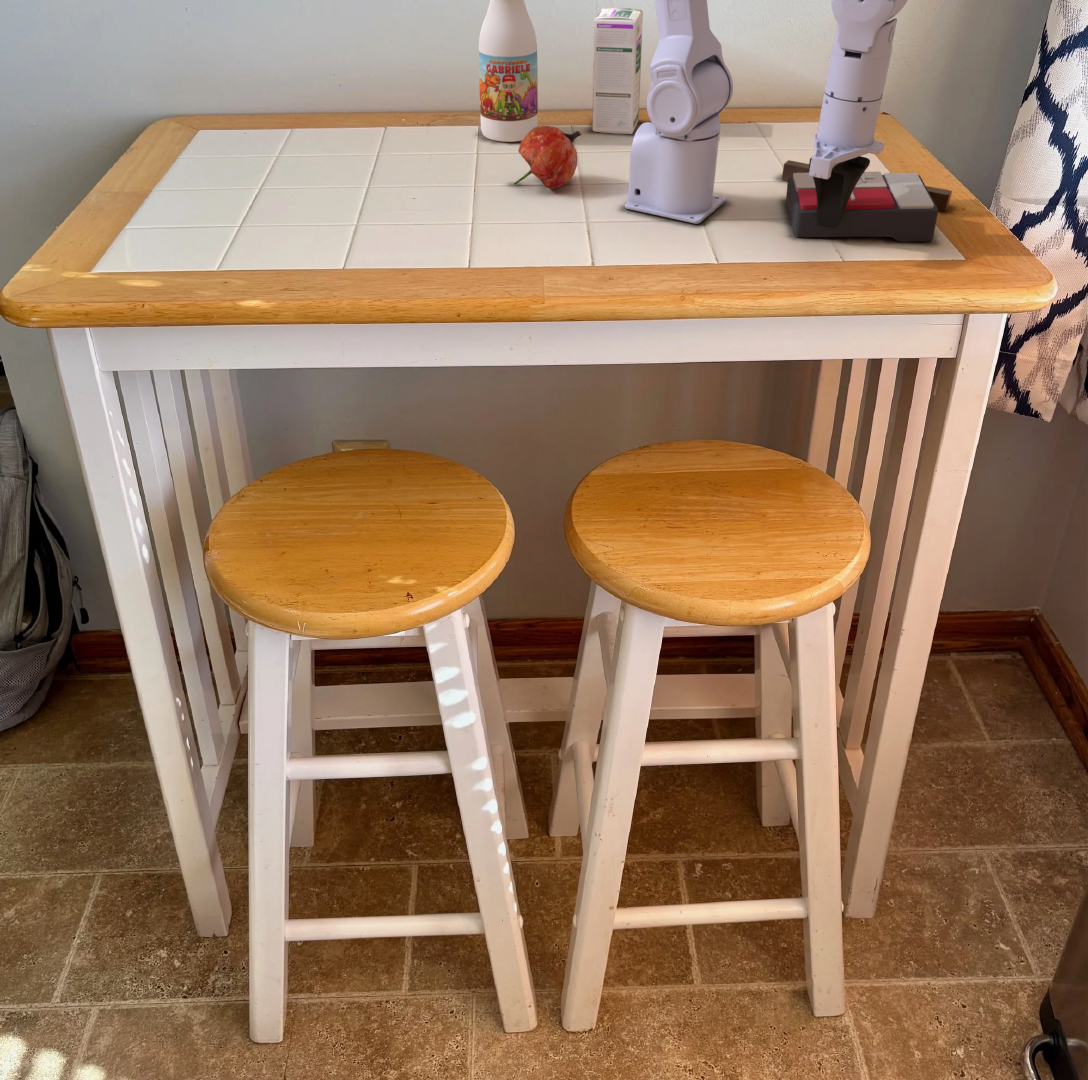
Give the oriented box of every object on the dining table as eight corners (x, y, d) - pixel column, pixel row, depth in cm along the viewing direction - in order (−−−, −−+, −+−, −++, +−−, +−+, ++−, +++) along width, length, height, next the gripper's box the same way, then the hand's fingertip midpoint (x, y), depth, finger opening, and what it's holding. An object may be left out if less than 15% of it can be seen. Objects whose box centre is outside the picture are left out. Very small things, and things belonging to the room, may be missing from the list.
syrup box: (633, 135, 142) (639, 19, 133) (590, 132, 143) (593, 16, 134) (638, 122, 147) (645, 8, 137) (597, 119, 147) (600, 6, 138)
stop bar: (781, 180, 129) (783, 163, 128) (785, 176, 130) (788, 159, 129) (944, 212, 122) (949, 195, 120) (948, 207, 123) (952, 190, 121)
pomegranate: (525, 215, 126) (592, 168, 121) (488, 163, 123) (556, 113, 119) (537, 199, 132) (601, 154, 128) (502, 149, 130) (567, 101, 125)
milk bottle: (474, 127, 144) (468, -35, 132) (528, 122, 146) (527, -38, 134) (489, 146, 139) (484, -22, 126) (544, 140, 140) (545, -26, 128)
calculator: (788, 169, 122) (920, 167, 120) (784, 205, 124) (914, 203, 123) (797, 205, 113) (940, 203, 112) (793, 243, 116) (933, 241, 114)
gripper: (870, 119, 99) (842, 256, 107) (912, 83, 108) (883, 211, 117) (799, 107, 101) (777, 241, 110) (846, 73, 111) (823, 198, 120)
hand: (828, 225), depth 114 cm, fingers closed, pressing on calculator
